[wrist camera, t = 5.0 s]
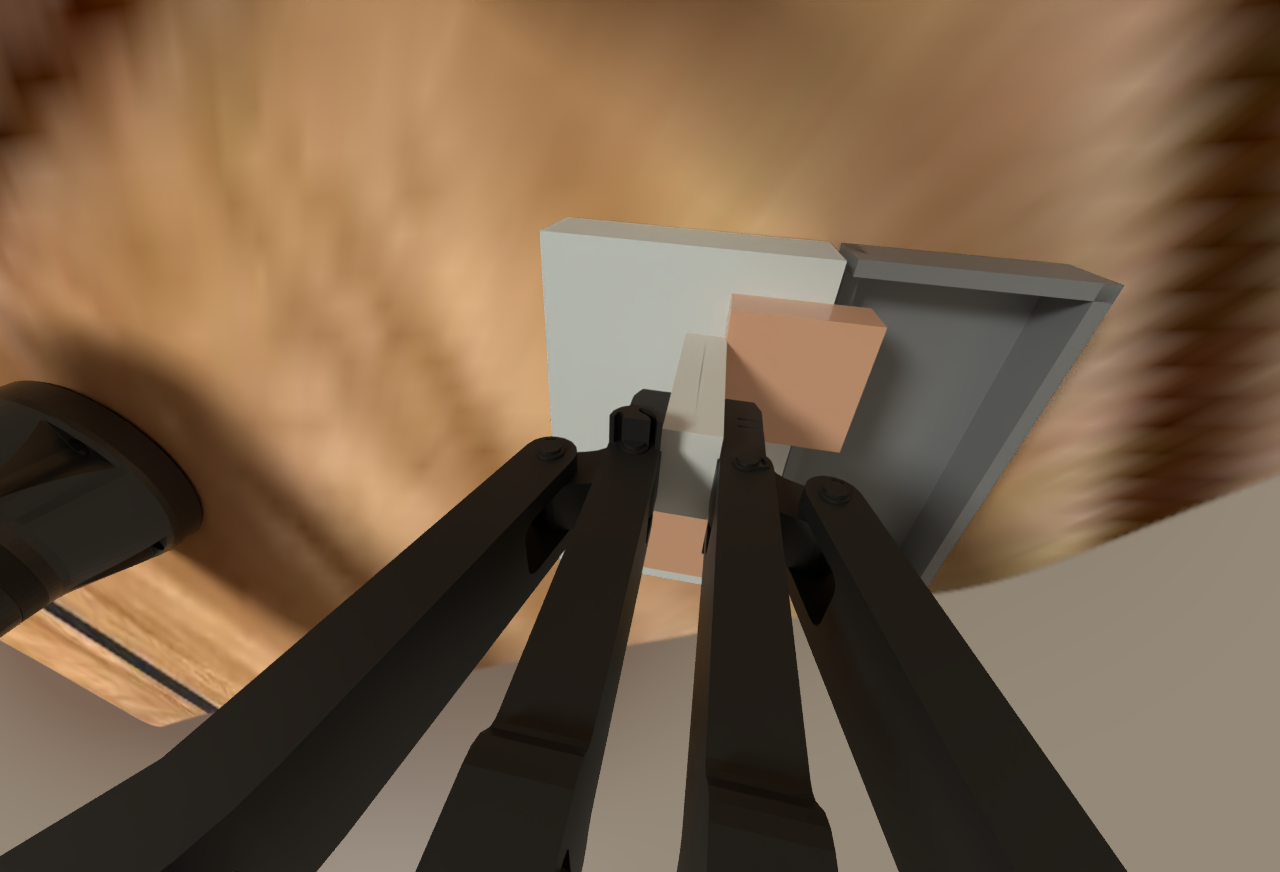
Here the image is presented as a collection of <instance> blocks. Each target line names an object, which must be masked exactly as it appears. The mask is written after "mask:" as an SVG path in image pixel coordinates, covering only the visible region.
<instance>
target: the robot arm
mask: <svg viewBox="0 0 1280 872" xmlns="http://www.w3.org/2000/svg"><path fill="white" fill-rule="evenodd" d="M726 353H727V342H726V337H717V336H709V335H701V334H693V333H686V336H685V340H684V344H683V348H682V352H681V356H680V360H679V364H678V368H677V372H676V376H675V380H674V384H673V388H672V392H664V391H657V390H649V389H642V390H641V391H639V392H638V393H636V394H635V395H634V396H633V399H632V401H631V404H630V405H629V406H623V407H620V408H617V409H615V410H614V411H613V412H612V413H611V414H610V416H609V443H608V446H607V447H606V448H604V449H600V450H596V451H587V452H577V447H576V446H575V445H574V443H573V442H572V441H570V440H568V439H565V438H562V437H556V436H551V437H543V438H539V439H535V440H534V441H532V442H530V443H529V444H527V445H526V446H525V447H524V448H523V449H522V450H520V451H519V452H518V453H517V454H516V455H515V456H513V457H512V458H511V459H510V460H509V461H508V462H506V463H505V464H504V465H503V466H502V467H501V468H499V469H498V470H497V471H496V472H495V473H494V474H492V475H491V476H490V477H489V478H488V479H487V480H485V481H484V482H483V483H482V484H481V485H480V486H478V487H477V488H476V489H475V490H474V491H473V492H471V493H470V494H469V495H468V496H467V497H466V498H464V499H463V500H462V501H461V502H460V503H459V504H457V505H456V506H455V507H454V508H453V509H452V510H450V511H449V512H448V513H447V514H446V515H445V516H443V517H442V518H441V519H440V520H439V521H438V522H436V523H435V524H434V525H433V526H432V527H431V528H429V529H428V530H427V531H426V532H425V533H424V534H422V535H421V536H420V537H419V538H418V539H417V540H415V541H414V542H413V543H412V544H411V545H410V546H408V547H407V548H406V549H405V550H404V551H403V552H401V553H400V554H399V555H398V556H397V557H396V558H394V559H393V560H392V561H391V562H390V563H389V564H387V565H386V566H385V567H384V568H383V569H382V570H380V571H379V572H378V573H377V574H376V575H375V576H374V577H372V578H371V579H370V580H369V581H368V582H367V583H365V584H364V585H363V586H362V587H361V588H360V589H358V590H357V591H356V592H355V593H354V594H353V595H351V596H350V597H349V598H348V599H347V600H346V601H344V602H343V603H342V604H341V605H340V606H339V607H337V608H336V609H335V610H334V611H333V612H332V613H330V614H329V615H328V616H327V617H326V618H325V619H323V620H322V621H321V622H320V623H319V624H318V625H316V626H315V627H314V628H313V629H312V630H311V631H309V632H308V633H307V634H306V635H305V636H304V637H302V638H301V639H300V640H299V641H298V642H297V643H295V644H294V645H293V646H292V647H291V648H290V649H288V650H287V651H286V652H285V653H284V654H283V655H281V656H280V657H279V658H278V659H277V660H276V661H274V662H273V663H272V664H271V665H270V666H269V667H267V668H266V669H265V670H264V671H263V672H262V673H260V674H259V675H258V676H257V677H256V678H255V679H253V680H252V681H251V682H250V683H249V684H248V685H246V686H245V687H244V688H243V689H242V690H241V691H239V692H238V693H237V694H236V695H235V696H234V697H232V698H231V699H230V700H229V701H228V702H227V703H226V704H224V705H223V706H222V707H221V708H220V709H219V710H217V711H216V712H215V713H214V714H213V715H212V716H210V717H209V718H208V719H207V720H206V721H205V722H203V723H202V724H201V725H200V726H199V727H198V728H196V729H195V730H194V731H193V732H192V733H191V734H189V735H188V736H187V737H186V738H185V739H184V740H182V741H181V742H180V743H179V744H178V745H177V746H176V747H174V748H173V749H172V750H171V751H170V752H168V753H167V754H166V755H165V756H164V757H163V758H161V759H160V760H158V761H157V762H155V763H153V764H152V765H150V766H148V767H147V768H145V769H143V770H142V771H140V772H138V773H137V774H135V775H134V776H132V777H130V778H129V779H127V780H125V781H123V782H122V783H120V784H119V785H117V786H115V787H114V788H112V789H110V790H109V791H107V792H105V793H104V794H102V795H100V796H99V797H97V798H95V799H94V800H92V801H90V802H89V803H87V804H85V805H84V806H83V807H81V808H79V809H77V810H76V811H74V812H72V813H71V814H69V815H68V816H66V817H64V818H62V819H61V820H59V821H58V822H56V823H54V824H52V825H51V826H49V827H48V828H46V829H44V830H43V831H41V832H39V833H38V834H36V835H34V836H33V837H31V838H29V839H28V840H26V841H25V842H23V843H21V844H20V845H18V846H16V847H15V848H13V849H11V850H10V851H8V852H6V853H5V854H3V855H1V856H0V872H317V870H318V869H319V868H320V867H321V865H322V864H323V863H324V862H325V861H326V859H327V858H328V857H329V856H330V855H331V853H332V852H333V851H334V850H335V848H336V847H337V846H338V845H339V844H340V842H341V841H342V840H343V839H344V838H345V836H346V835H347V834H348V832H349V831H350V830H351V829H352V827H353V826H354V825H355V823H356V822H357V821H358V819H359V818H360V817H361V815H362V814H363V813H364V812H365V810H366V809H367V808H368V806H369V805H370V804H371V802H372V801H373V800H374V798H375V797H376V796H377V795H378V793H379V792H380V791H381V789H382V788H383V787H384V785H385V784H386V783H387V781H388V780H389V779H390V778H391V776H392V775H393V774H394V772H395V771H396V770H397V768H398V767H399V766H400V765H401V763H402V762H403V761H404V759H405V758H406V757H407V755H408V754H409V753H410V752H411V750H412V749H413V748H414V746H415V745H416V744H417V742H418V741H419V740H420V738H421V737H422V736H423V735H424V733H425V732H426V731H427V729H428V728H429V727H430V725H431V724H432V723H433V722H434V720H435V719H436V718H437V716H438V715H439V714H440V712H441V711H442V710H443V708H444V707H445V706H446V705H447V703H448V702H449V701H450V699H451V698H452V697H453V695H454V694H455V693H456V691H457V690H458V689H459V688H460V686H461V685H462V683H463V682H464V681H465V680H466V678H467V677H468V676H469V675H470V673H471V672H472V671H473V669H474V668H475V667H476V665H477V664H478V663H479V661H480V660H481V659H482V658H483V656H484V655H485V654H486V652H487V651H488V650H489V648H490V647H491V646H492V644H493V643H494V642H495V641H496V639H497V638H498V637H499V635H500V634H501V633H502V631H503V630H504V629H505V628H506V626H507V625H508V624H509V622H510V621H511V620H512V618H513V617H514V616H515V614H516V613H517V612H518V611H519V609H520V608H521V607H522V605H523V604H524V603H525V601H526V600H527V599H528V597H529V596H530V595H531V594H532V592H533V591H534V590H535V588H536V587H537V586H538V584H539V583H540V582H541V581H542V579H543V578H544V577H545V575H546V574H547V573H548V571H549V570H550V569H551V567H552V566H553V565H554V564H555V562H556V561H557V560H558V558H559V557H560V556H561V554H562V553H563V552H564V553H563V556H562V558H561V561H560V563H559V566H558V568H557V570H556V573H555V575H554V578H553V580H552V583H551V585H550V588H549V590H548V592H547V595H546V597H545V600H544V602H543V605H542V607H541V610H540V612H539V614H538V617H537V619H536V622H535V624H534V627H533V629H532V631H531V634H530V636H529V639H528V641H527V644H526V646H525V649H524V651H523V653H522V656H521V658H520V661H519V663H518V666H517V668H516V671H515V673H514V675H513V678H512V681H511V683H510V685H509V688H508V690H507V693H506V695H505V697H504V700H503V703H502V705H501V707H500V710H499V712H498V714H497V716H496V719H495V720H494V722H493V723H492V725H491V726H490V727H489V728H487V729H486V730H484V731H482V732H481V733H480V734H479V735H478V737H477V738H476V739H475V741H474V742H473V744H472V745H471V747H470V749H469V751H468V753H467V755H466V757H465V759H464V761H463V763H462V766H461V768H460V770H459V772H458V775H457V777H456V780H455V782H454V784H453V786H452V789H451V791H450V793H449V795H448V798H447V800H446V803H445V805H444V807H443V809H442V812H441V814H440V816H439V818H438V821H437V823H436V825H435V828H434V830H433V832H432V835H431V837H430V839H429V842H428V844H427V846H426V848H425V851H424V853H423V855H422V858H421V860H420V862H419V865H418V867H417V869H416V872H581V871H582V867H583V862H584V856H585V850H586V844H587V837H588V830H589V824H590V818H591V812H592V808H593V803H594V798H595V793H596V788H597V784H598V779H599V774H600V770H601V765H602V760H603V755H604V751H605V746H606V741H607V736H608V731H609V727H610V722H611V717H612V712H613V708H614V703H615V698H616V693H617V689H618V684H619V679H620V675H621V670H622V665H623V660H624V656H625V651H626V646H627V641H628V637H629V632H630V627H631V622H632V618H633V613H634V608H635V603H636V599H637V594H638V589H639V584H640V580H641V575H642V570H643V565H644V561H645V556H646V551H647V546H648V542H649V537H650V532H651V527H652V520H653V511H657V512H663V513H669V514H675V515H680V516H686V517H692V518H698V519H705V520H707V518H708V523H707V528H706V533H705V538H704V543H703V548H702V553H701V554H704V557H703V570H702V583H701V596H700V609H699V622H698V635H697V648H696V661H695V674H694V687H693V699H692V712H691V713H692V714H691V726H690V738H689V752H688V765H687V778H686V790H685V803H684V816H683V829H682V840H681V848H680V855H679V862H678V868H677V872H838V867H837V860H836V853H835V847H834V842H833V837H832V832H831V828H830V825H829V822H828V819H827V817H826V814H825V812H824V810H823V809H822V808H821V807H820V806H819V805H818V803H817V802H816V801H815V798H814V795H813V792H812V787H811V781H810V773H809V765H808V756H807V747H806V739H805V730H804V722H803V713H802V704H801V695H800V687H799V678H798V670H797V661H796V652H795V644H794V635H793V626H792V618H791V609H790V600H789V595H790V598H791V600H792V603H793V605H794V608H795V611H796V613H797V616H798V618H799V621H800V623H801V626H802V628H803V631H804V633H805V636H806V638H807V641H808V643H809V646H810V648H811V651H812V653H813V656H814V658H815V661H816V663H817V666H818V669H819V671H820V674H821V676H822V679H823V681H824V684H825V686H826V689H827V691H828V694H829V696H830V699H831V701H832V704H833V707H834V709H835V712H836V714H837V717H838V719H839V722H840V724H841V727H842V729H843V732H844V734H845V737H846V739H847V742H848V744H849V747H850V749H851V752H852V754H853V757H854V760H855V762H856V765H857V767H858V770H859V772H860V774H861V777H862V780H863V782H864V785H865V787H866V790H867V792H868V795H869V798H870V800H871V803H872V805H873V807H874V810H875V813H876V815H877V818H878V820H879V823H880V825H881V828H882V830H883V833H884V835H885V838H886V840H887V843H888V845H889V848H890V851H891V853H892V856H893V858H894V861H895V863H896V866H897V868H898V871H899V872H1127V870H1126V869H1125V868H1124V866H1123V865H1122V863H1121V862H1120V861H1119V859H1118V858H1117V857H1116V855H1115V854H1114V852H1113V851H1112V849H1111V848H1110V846H1109V845H1108V844H1107V842H1106V841H1105V839H1104V838H1103V836H1102V835H1101V834H1100V832H1099V831H1098V829H1097V828H1096V827H1095V825H1094V824H1093V822H1092V821H1091V819H1090V818H1089V816H1088V815H1087V814H1086V813H1085V811H1084V809H1083V808H1082V807H1081V805H1080V804H1079V802H1078V801H1077V799H1076V798H1075V797H1074V795H1073V794H1072V792H1071V791H1070V789H1069V788H1068V787H1067V785H1066V784H1065V782H1064V781H1063V780H1062V778H1061V777H1060V775H1059V774H1058V772H1057V771H1056V770H1055V768H1054V767H1053V765H1052V764H1051V762H1050V761H1049V760H1048V758H1047V757H1046V755H1045V754H1044V752H1043V751H1042V750H1041V748H1040V747H1039V745H1038V744H1037V743H1036V741H1035V740H1034V738H1033V737H1032V735H1031V734H1030V733H1029V731H1028V730H1027V728H1026V727H1025V726H1024V724H1023V723H1022V721H1021V720H1020V719H1019V717H1018V716H1017V714H1016V713H1015V711H1014V710H1013V708H1012V707H1011V706H1010V704H1009V703H1008V701H1007V700H1006V698H1005V697H1004V696H1003V694H1002V693H1001V691H1000V690H999V689H998V687H997V686H996V684H995V683H994V681H993V680H992V679H991V677H990V676H989V674H988V673H987V671H986V670H985V669H984V667H983V666H982V664H981V663H980V661H979V660H978V659H977V657H976V656H975V654H974V653H973V652H972V650H971V649H970V647H969V646H968V644H967V643H966V642H965V640H964V639H963V637H962V636H961V634H960V633H959V632H958V630H957V629H956V627H955V626H954V625H953V623H952V622H951V620H950V619H949V617H948V616H947V615H946V613H945V612H944V610H943V609H942V607H941V606H940V605H939V604H938V602H937V600H936V599H935V597H934V596H933V595H932V593H931V592H930V590H929V589H928V588H927V586H926V585H925V583H924V582H923V580H922V579H921V578H920V576H919V575H918V573H917V572H916V570H915V569H914V568H913V566H912V565H911V563H910V562H909V561H908V559H907V558H906V556H905V555H904V553H903V552H902V551H901V549H900V548H899V546H898V545H897V543H896V542H895V541H894V539H893V538H892V536H891V535H890V534H889V532H888V531H887V529H886V528H885V526H884V525H883V524H882V522H881V521H880V519H879V518H878V516H877V515H876V514H875V512H874V511H873V509H872V508H871V507H870V505H869V504H868V502H867V501H866V499H865V498H864V497H863V495H862V494H861V493H860V492H859V491H858V490H857V489H856V488H855V487H854V486H853V485H851V484H849V483H848V482H846V481H844V480H841V479H838V478H835V477H830V476H816V477H812V478H811V479H809V480H807V482H806V484H805V486H804V485H801V484H798V483H796V482H793V481H790V480H788V479H786V478H784V477H782V476H780V475H779V474H777V473H776V472H775V471H774V466H773V463H772V461H771V460H770V459H769V458H768V457H767V456H766V449H765V439H764V431H763V419H762V411H761V410H760V409H759V408H758V407H757V405H756V404H755V403H754V402H747V401H739V400H732V399H725V381H726ZM201 520H202V511H201V506H200V503H199V500H198V498H197V496H196V493H195V492H194V490H193V488H192V486H191V485H190V483H189V482H188V480H187V479H186V477H185V476H184V475H183V473H182V472H181V471H180V470H179V468H178V467H177V466H176V465H175V464H174V463H173V462H172V460H171V459H170V458H169V457H168V456H167V455H166V454H165V453H164V452H163V451H162V450H161V449H160V448H159V447H158V446H156V445H155V444H154V443H153V442H152V441H151V440H150V439H148V438H147V437H146V436H145V435H144V434H142V433H141V432H140V431H139V430H137V429H136V428H135V427H133V426H132V425H130V424H129V423H128V422H126V421H125V420H123V419H122V418H120V417H119V416H117V415H116V414H114V413H113V412H111V411H109V410H108V409H106V408H104V407H103V406H101V405H99V404H97V403H95V402H93V401H91V400H89V399H87V398H85V397H83V396H81V395H79V394H77V393H74V392H72V391H69V390H67V389H64V388H61V387H58V386H55V385H51V384H47V383H42V382H36V381H17V382H13V383H10V384H7V385H4V386H1V387H0V637H2V636H3V635H4V634H6V633H7V632H9V631H10V630H12V629H13V628H15V627H16V626H17V625H19V624H20V623H21V622H23V621H24V620H26V619H27V618H29V617H30V616H32V615H33V614H35V613H36V612H38V611H39V610H41V609H42V608H44V607H45V606H47V605H48V604H50V603H51V602H53V601H54V600H56V599H57V598H59V597H61V596H63V595H65V594H67V593H69V592H71V591H73V590H76V589H78V588H81V587H83V586H86V585H88V584H90V583H93V582H95V581H98V580H100V579H102V578H105V577H107V576H110V575H112V574H115V573H117V572H120V571H122V570H124V569H127V568H129V567H132V566H134V565H137V564H139V563H141V562H144V561H146V560H149V559H151V558H153V557H156V556H159V555H161V554H163V553H165V552H167V551H169V550H170V549H172V548H173V547H175V546H176V545H177V544H179V543H180V542H182V541H183V540H184V539H186V538H187V537H188V536H190V535H191V534H193V533H194V532H195V531H196V530H197V529H198V528H199V526H200V524H201Z"/></svg>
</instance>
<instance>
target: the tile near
mask: <svg viewBox="0 0 1280 872" xmlns="http://www.w3.org/2000/svg"><path fill="white" fill-rule="evenodd" d="M886 330H887V327H886V325H885V324H884V323H883V322H882V321H881V319H880V318H879V317H878V316H877V314H876V313H875V312H874V311H873V310H872V308H863V307H854V306H845V305H836V304H826V303H817V302H808V301H799V300H790V299H781V298H771V297H762V296H753V295H744V294H735V293H731V299H730V305H729V311H728V317H727V322H726V328H725V334H724V337H726V342H727V353H726V381H725V399H732V400H739V401H747V402H754V403H755V404H756V405H757V407H758V408H759V409H760V410H761V411H762V419H763V431H764V439H765V442H768V443H775V444H782V445H789V446H796V447H803V448H810V449H817V450H824V451H831V452H838V453H840V450H841V448H842V445H843V443H844V440H845V437H846V435H847V432H848V429H849V427H850V424H851V422H852V419H853V416H854V414H855V411H856V409H857V406H858V403H859V401H860V398H861V395H862V393H863V390H864V388H865V385H866V382H867V380H868V377H869V374H870V372H871V369H872V367H873V364H874V361H875V359H876V356H877V354H878V351H879V348H880V346H881V343H882V340H883V338H884V335H885V333H886Z"/></svg>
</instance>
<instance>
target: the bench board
mask: <svg viewBox="0 0 1280 872" xmlns="http://www.w3.org/2000/svg"><path fill="white" fill-rule="evenodd" d="M540 244H541V261H542V278H543V295H544V311H545V328H546V345H547V362H548V378H549V395H550V412H551V429H552V436H556V437H562V438H565V439H568V440H570V441H572V442H573V443H574V445H575V446H576V447H577V452H587V451H596V450H600V449H604V448H606V447H607V446H608V443H609V416H610V414H611V413H612V412H613V411H614V410H615V409H617V408H620V407H623V406H629V405H630V404H631V401H632V399H633V396H634V395H635V394H636V393H638V392H639V391H641V390H642V389H649V390H657V391H664V392H672V388H673V384H674V380H675V376H676V372H677V368H678V364H679V360H680V356H681V352H682V348H683V344H684V340H685V336H686V333H693V334H701V335H709V336H717V337H724V334H725V328H726V322H727V317H728V311H729V305H730V299H731V293H735V294H744V295H753V296H762V297H771V298H781V299H790V300H799V301H808V302H817V303H826V304H834V302H835V299H836V296H837V293H838V289H839V286H840V283H841V279H842V276H843V273H844V269H845V266H846V263H847V260H846V259H845V258H844V257H843V256H842V255H841V254H840V253H839V252H838V251H837V250H836V249H835V248H834V246H833V245H832V244H831V243H830V242H826V241H816V240H805V239H795V238H784V237H774V236H763V235H752V234H742V233H731V232H721V231H710V230H700V229H689V228H679V227H668V226H658V225H647V224H637V223H626V222H615V221H605V220H594V219H584V218H573V217H567V218H565V219H563V220H561V221H559V222H557V223H555V224H552V225H550V226H548V227H546V228H544V229H542V230H540ZM790 447H791V446H789V445H782V444H775V443H768V442H765V449H766V456H767V457H768V458H769V459H770V460H771V461H772V463H773V466H774V471H775V472H776V473H777V474H779V475H780V476H782V474H783V470H784V467H785V464H786V460H787V457H788V454H789V451H790ZM563 553H564V552H563ZM563 553H562V554H561V556H560V557H559V559H561V558H562V556H563ZM642 574H646V575H652V576H657V577H663V578H668V579H674V580H679V581H685V582H691V583H696V584H701V583H702V577H696V576H691V575H685V574H679V573H674V572H668V571H663V570H657V569H651V568H646V567H643V570H642Z"/></svg>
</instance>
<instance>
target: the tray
mask: <svg viewBox="0 0 1280 872" xmlns="http://www.w3.org/2000/svg"><path fill="white" fill-rule="evenodd" d="M839 253H840V254H841V255H842V256H843V257H844V258H845V259H846V260H847V263H846V266H845V269H844V273H843V276H842V279H841V283H840V286H839V289H838V293H837V296H836V299H835V302H834V304H836V305H845V306H854V307H863V308H872V310H873V311H874V312H875V313H876V314H877V316H878V317H879V318H880V319H881V321H882V322H883V323H884V324H885V325H886V327H887V330H886V333H885V335H884V338H883V340H882V343H881V346H880V348H879V351H878V354H877V356H876V359H875V361H874V364H873V367H872V369H871V372H870V374H869V377H868V380H867V382H866V385H865V388H864V390H863V393H862V395H861V398H860V401H859V403H858V406H857V409H856V411H855V414H854V416H853V419H852V422H851V424H850V427H849V429H848V432H847V435H846V437H845V440H844V443H843V445H842V448H841V450H840V453H838V452H831V451H824V450H817V449H810V448H803V447H796V446H791V447H790V451H789V454H788V457H787V460H786V464H785V467H784V470H783V474H782V477H784V478H786V479H788V480H790V481H793V482H796V483H798V484H801V485H804V486H805V484H806V482H807V480H809V479H811V478H812V477H816V476H830V477H835V478H838V479H841V480H844V481H846V482H848V483H849V484H851V485H853V486H854V487H855V488H856V489H857V490H858V491H859V492H860V493H861V494H862V495H863V497H864V498H865V499H866V501H867V502H868V504H869V505H870V507H871V508H872V509H873V511H874V512H875V514H876V515H877V516H878V518H879V519H880V521H881V522H882V524H883V525H884V526H885V528H886V529H887V531H888V532H889V534H890V535H891V536H892V538H893V539H894V541H895V542H896V543H897V545H898V546H899V548H900V549H901V551H902V552H903V553H904V555H905V556H906V558H907V559H908V561H909V562H910V563H911V565H912V566H913V568H914V569H915V570H916V572H917V573H918V575H919V576H920V578H921V579H922V580H923V582H924V583H925V585H926V586H927V587H928V586H929V584H930V583H931V581H932V580H933V578H934V577H935V575H936V574H937V572H938V571H939V569H940V567H941V566H942V564H943V563H944V561H945V560H946V558H947V557H948V555H949V554H950V552H951V551H952V549H953V548H954V546H955V545H956V543H957V541H958V540H959V538H960V537H961V535H962V534H963V532H964V531H965V529H966V528H967V526H968V525H969V523H970V522H971V520H972V518H973V517H974V515H975V514H976V512H977V511H978V509H979V508H980V506H981V505H982V503H983V502H984V500H985V499H986V497H987V495H988V494H989V492H990V491H991V489H992V488H993V486H994V485H995V483H996V482H997V480H998V479H999V477H1000V476H1001V474H1002V472H1003V471H1004V469H1005V468H1006V466H1007V465H1008V463H1009V462H1010V460H1011V459H1012V457H1013V456H1014V454H1015V453H1016V451H1017V449H1018V448H1019V446H1020V445H1021V443H1022V442H1023V440H1024V439H1025V437H1026V436H1027V434H1028V433H1029V431H1030V430H1031V428H1032V427H1033V425H1034V423H1035V422H1036V420H1037V419H1038V417H1039V416H1040V414H1041V413H1042V411H1043V410H1044V408H1045V407H1046V405H1047V404H1048V402H1049V400H1050V399H1051V397H1052V396H1053V394H1054V393H1055V391H1056V390H1057V388H1058V387H1059V385H1060V384H1061V382H1062V381H1063V379H1064V377H1065V376H1066V374H1067V373H1068V371H1069V370H1070V368H1071V367H1072V365H1073V364H1074V362H1075V361H1076V359H1077V358H1078V356H1079V354H1080V353H1081V351H1082V350H1083V348H1084V347H1085V345H1086V344H1087V342H1088V341H1089V339H1090V338H1091V336H1092V335H1093V333H1094V331H1095V330H1096V328H1097V327H1098V325H1099V324H1100V322H1101V321H1102V319H1103V318H1104V316H1105V315H1106V313H1107V312H1108V310H1109V309H1110V307H1111V305H1112V304H1113V302H1114V301H1115V299H1116V298H1117V296H1118V295H1119V293H1120V292H1121V290H1122V289H1123V287H1124V286H1125V285H1122V284H1120V283H1117V282H1114V281H1112V280H1109V279H1106V278H1104V277H1101V276H1098V275H1096V274H1093V273H1090V272H1088V271H1085V270H1082V269H1080V268H1077V267H1074V266H1072V265H1069V264H1058V263H1048V262H1037V261H1027V260H1016V259H1006V258H995V257H984V256H974V255H963V254H953V253H942V252H932V251H921V250H911V249H900V248H890V247H879V246H868V245H858V244H847V243H842V244H841V247H840V251H839Z"/></svg>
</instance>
